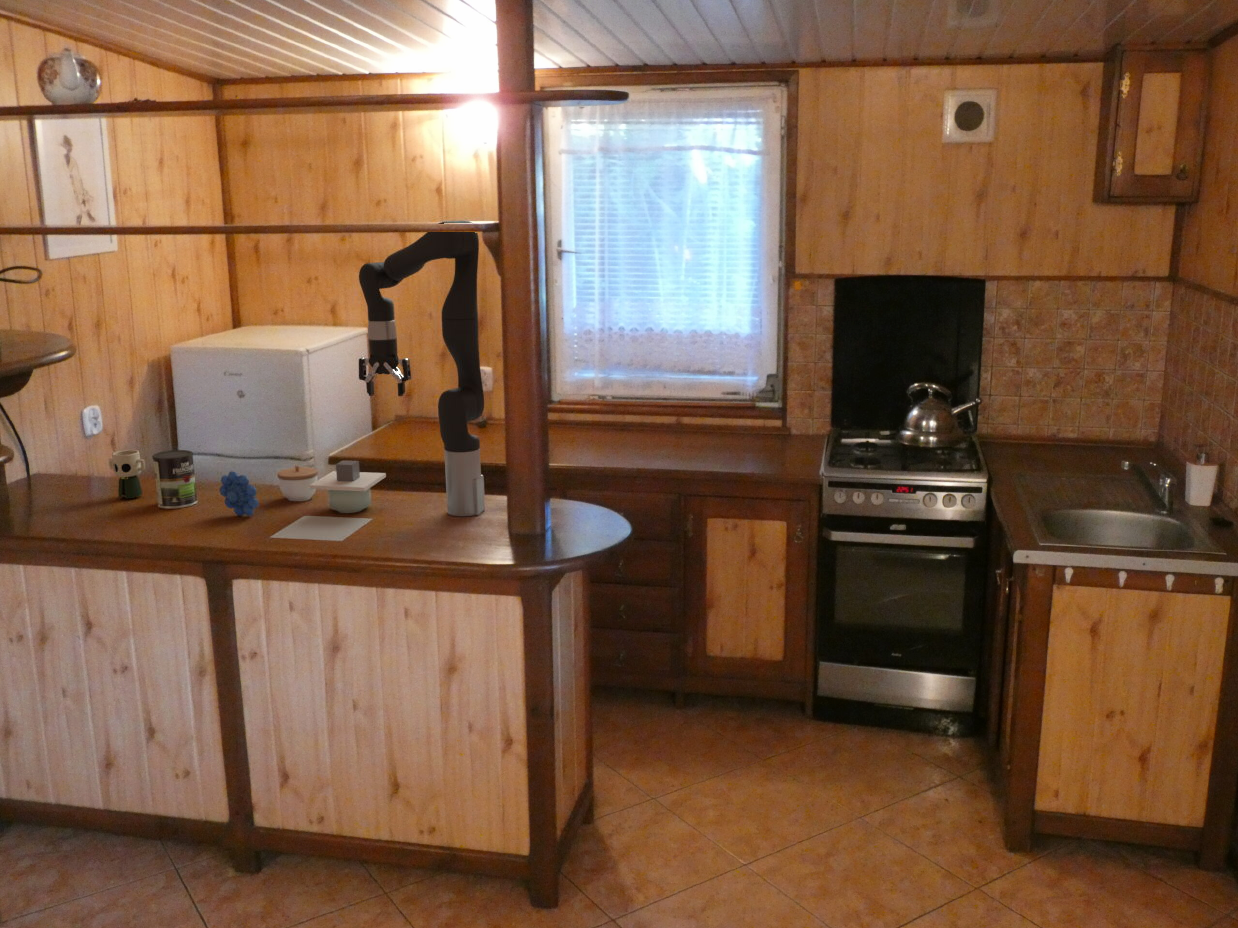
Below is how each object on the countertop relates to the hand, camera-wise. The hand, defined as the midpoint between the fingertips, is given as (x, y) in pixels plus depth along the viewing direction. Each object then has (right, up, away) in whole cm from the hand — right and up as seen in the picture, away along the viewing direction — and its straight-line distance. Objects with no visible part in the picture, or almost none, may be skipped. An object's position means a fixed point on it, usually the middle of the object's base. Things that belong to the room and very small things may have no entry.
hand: (386, 395), depth 307 cm
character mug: (-73, -28, +7) cm, 79 cm away
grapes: (-36, -33, -13) cm, 51 cm away
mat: (-11, -35, -25) cm, 44 cm away
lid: (-8, -24, -10) cm, 27 cm away
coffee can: (-57, -30, 0) cm, 64 cm away
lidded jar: (-25, -29, +4) cm, 38 cm away
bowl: (-8, -31, -9) cm, 33 cm away
